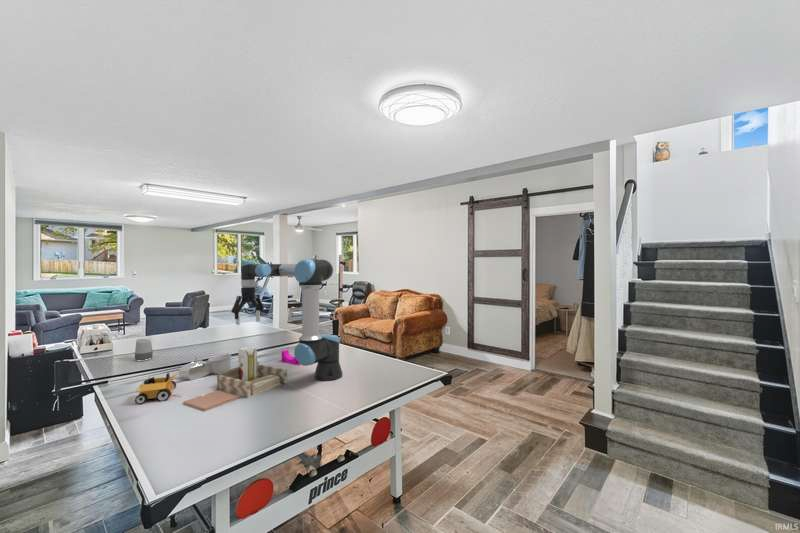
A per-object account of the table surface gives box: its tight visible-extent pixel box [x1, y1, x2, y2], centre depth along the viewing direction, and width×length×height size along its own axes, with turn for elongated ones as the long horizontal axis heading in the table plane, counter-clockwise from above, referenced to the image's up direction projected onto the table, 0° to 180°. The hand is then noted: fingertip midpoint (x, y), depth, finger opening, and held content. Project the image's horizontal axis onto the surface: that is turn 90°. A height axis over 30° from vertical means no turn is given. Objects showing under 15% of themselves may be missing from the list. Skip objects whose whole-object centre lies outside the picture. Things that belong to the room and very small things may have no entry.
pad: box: [182, 389, 240, 412], centre depth 156 cm, size 16×16×1 cm
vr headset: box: [178, 356, 213, 381], centre depth 187 cm, size 14×9×11 cm, turn 150°
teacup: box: [207, 353, 232, 375], centre depth 194 cm, size 12×15×10 cm
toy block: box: [281, 349, 302, 366], centre depth 217 cm, size 15×6×8 cm, turn 62°
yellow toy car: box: [134, 372, 179, 405], centre depth 161 cm, size 15×15×11 cm
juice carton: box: [237, 345, 258, 381], centre depth 177 cm, size 8×9×19 cm
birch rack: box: [216, 361, 288, 399], centre depth 175 cm, size 23×23×8 cm
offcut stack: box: [250, 375, 282, 396], centre depth 171 cm, size 7×16×5 cm, turn 148°
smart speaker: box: [134, 338, 153, 361], centre depth 224 cm, size 10×9×14 cm
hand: (248, 323), depth 201 cm, fingers open, 13 cm apart
